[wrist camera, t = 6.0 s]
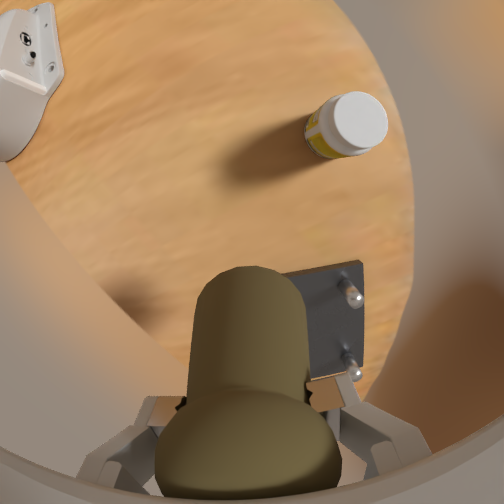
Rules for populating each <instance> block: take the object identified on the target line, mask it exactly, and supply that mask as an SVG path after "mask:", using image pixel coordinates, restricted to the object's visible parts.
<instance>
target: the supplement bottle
mask: <svg viewBox="0 0 504 504" xmlns="http://www.w3.org/2000/svg"><path fill="white" fill-rule="evenodd" d="M387 130H388V119H387V115H386V112H385V110H384V108H383V106H382V105H381V104H380V103H379V101H378V100H376V99H375V98H374V97H373V96H371V95H369V94H367V93H364V92H359V91H354V92H349V93H346V94H342V95H337V96H334V97H332V98H330V99H329V100H327V101H326V102H325V103H324V104H323V105H322V106H321V107H320V108H319V109H318V110H316V111H315V112H314V113H313V114H312V115H311V116H310V117H309V119H308V120H307V122H306V124H305V129H304V134H305V139H306V142H307V144H308V146H309V147H310V149H311V150H312V151H313V152H314V153H315V154H317V155H319V156H320V157H323V158H327V159H337V158H344V157H351V156H358V155H361V154H364V153H366V152H367V151H369V150H370V149H371V148H372V147H374V146H376V145H378V144H379V143H380V142H381V141H382V140H383V139H384V137H385V135H386V133H387Z"/></svg>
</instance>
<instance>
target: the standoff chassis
mask: <svg viewBox="0 0 504 504" xmlns="http://www.w3.org/2000/svg"><path fill="white" fill-rule="evenodd" d="M281 275H283V276H284V277H286V278H288V279H289V280H290V281H291V282H292V283H293V284H294V286H295V287H296V288H297V289H298V290H299V292H300V293H301V296H302V299H303V301H304V304H305V307H306V318H307V331H308V345H309V361H310V379H312V378H317V377H321V376H326V375H330V374H335V373H339V372H343V371H346V372H347V373H349V375H350V377H351V379H352V382H357V381H359V380H360V379H361V378H362V373H361V371H360V369H359V367H363V354H364V274H363V263H362V262H361V261H360V260H354V261H349V262H344V263H339V264H334V265H328V266H323V267H317V268H312V269H306V270H301V271H295V272H290V273H284V274H281Z"/></svg>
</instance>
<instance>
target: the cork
mask: <svg viewBox="0 0 504 504" xmlns="http://www.w3.org/2000/svg"><path fill="white" fill-rule="evenodd" d="M307 381H311V379H310V361H309V345H308V331H307V318H306V307H305V304H304V301H303V299H302V296H301V293H300V292H299V290H298V289H297V288H296V287H295V286H294V284H293V283H292V282H291V281H290V280H289V279H288V278H286V277H284V276H283V275H281V274H280V273H278V272H276V271H275V270H271V269H267V268H263V267H259V266H244V267H236V268H233V269H230V270H227V271H225V272H222V273H220V274H218V275H217V276H216V277H215V278H213V279H212V280H211V281H210V282H208V283H207V284H206V286H205V287H204V289H203V290H202V292H201V294H200V295H199V297H198V299H197V304H196V309H195V315H194V324H193V333H192V342H191V352H190V362H189V374H188V385H187V397H186V405H185V406H183V407H181V408H180V409H179V410H178V411H177V413H176V414H175V415H174V416H173V418H172V419H171V420H170V421H169V423H168V424H167V425H166V427H165V428H164V429H163V431H162V432H161V433H160V436H159V439H158V442H157V445H156V447H155V461H154V464H155V479H156V481H157V484H158V486H159V488H160V490H161V493H162V494H163V495H164V497H170V498H180V499H195V500H249V499H264V498H275V497H284V496H291V495H298V494H305V493H311V492H316V491H321V490H326V489H331V488H336V487H337V485H338V482H339V480H340V477H341V470H342V457H341V454H340V450H339V447H338V444H337V441H336V438H335V436H334V433H333V430H332V429H331V427H330V426H329V424H328V423H327V422H326V420H325V419H324V417H323V416H321V415H320V414H319V413H318V412H317V411H316V410H314V409H313V408H312V407H311V406H310V401H309V398H308V394H307V388H306V383H305V382H307Z"/></svg>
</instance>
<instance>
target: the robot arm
mask: <svg viewBox="0 0 504 504" xmlns="http://www.w3.org/2000/svg"><path fill="white" fill-rule="evenodd" d="M53 68H54V69H53ZM52 70H53V71H52ZM63 77H64V68H63V63H62V58H61V53H60V47H59V41H58V34H57V27H56V20H55V11H54V5H53V4H52V3H49V2H48V3H42V4H39V5H37V6H35V7H33V8H31V9H29V10H27V11H26V10H23V9H12V10H9V11H7V12H5V13H3V14H1V15H0V162H4V161H8V160H10V159H12V158H14V157H15V156H16V155H18V154H19V153H20V152H21V151H22V150H23V149H24V147H25V146H26V145H27V144H28V142H29V141H30V139H31V138H32V136H33V134H34V133H35V131H36V129H37V127H38V125H39V122H40V120H41V118H42V115H43V112H44V109H45V107H46V104H47V102H48V100H49V98H50V97H51V95H52V94H53V93H54V91H55V90H56V89H57V87H58V86H59V84H60V83H61V81H62V79H63ZM305 383H306V388H307V394H308V398H309V401H310V406H311V407H312V408H313V409H314V410H316V411H317V412H318V413H319V414H320V415H321V416H323V417H324V419H325V420H326V422H327V423H328V424H329V426H330V427H331V429H332V430H333V433H334V436H335V438H336V441H340V442H341V443H342V444H343V445H345V446H346V447H347V448H348V449H350V450H351V451H352V452H353V453H355V454H356V455H357V456H359V457H360V458H361V459H362V460H364V461H365V462H366V463H367V467H366V471H365V475H364V480H363V481H359V482H356V483H352V484H348V485H344V486H340V487H336V488H331V489H326V490H321V491H316V492H311V493H305V494H298V495H291V496H284V497H275V498H264V499H249V500H195V499H180V498H170V497H161V496H153V495H150V494H149V493H148V492H147V491H146V490H145V489H144V488H143V487H142V486H143V485H144V484H145V483H146V482H147V481H148V480H149V479H150V478H151V477H152V476H153V475H154V474H155V464H154V461H155V447H156V445H157V442H158V439H159V436H160V433H161V432H162V431H163V429H164V428H165V427H166V425H167V424H168V423H169V421H170V420H171V419H172V418H173V416H174V415H175V414H176V413H177V411H178V410H179V409H180V408H181V407H183V406H185V405H186V397H185V396H159V397H158V396H148V397H146V398H145V400H144V402H143V405H142V407H141V409H140V411H139V414H138V416H137V418H136V420H135V423H134V425H133V426H128V427H127V428H126V429H124V430H123V431H121V432H120V433H118V434H117V435H116V436H114V437H113V438H111V439H110V440H109V441H107V442H106V443H104V444H103V445H101V446H100V447H98V448H97V449H95V450H94V451H92V452H91V453H89V454H88V455H87V456H86V458H85V460H84V462H83V464H82V466H81V468H80V470H79V472H78V474H77V476H76V478H74V477H71V476H68V475H65V474H62V473H59V472H56V471H54V470H51V469H48V468H46V467H43V466H41V465H38V464H36V463H34V462H31V461H29V460H27V459H25V458H23V457H20V456H18V455H16V454H14V453H12V452H10V451H8V450H6V449H4V448H2V447H0V504H504V414H503V415H502V416H500V417H499V418H497V419H496V420H494V421H493V422H492V423H490V424H488V425H487V426H485V427H483V428H482V429H480V430H478V431H477V432H475V433H473V434H472V435H470V436H468V437H466V438H465V439H463V440H461V441H459V442H457V443H455V444H453V445H451V446H450V447H448V448H446V449H444V450H442V451H439V452H437V453H435V454H433V455H432V453H431V451H430V449H429V447H428V445H427V444H426V441H425V440H424V438H423V436H422V434H421V432H420V431H419V429H418V428H417V427H415V426H413V425H411V424H409V423H407V422H405V421H403V420H400V419H398V418H396V417H394V416H392V415H390V414H389V413H386V412H385V411H383V410H381V409H379V408H377V407H375V406H373V405H371V404H369V403H367V402H362V403H361V400H360V398H359V396H358V393H357V391H356V389H355V386H354V384H353V382H352V379H351V377H350V375H349V373H347V372H346V373H342V374H338V375H334V376H330V377H326V378H321V379H317V380H312V381H307V382H305Z"/></svg>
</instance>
